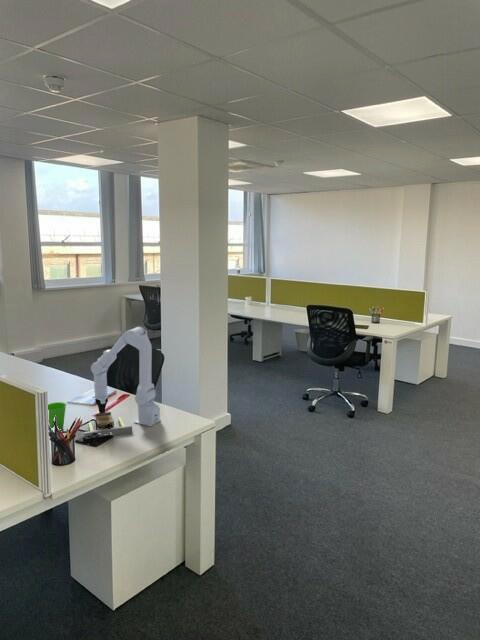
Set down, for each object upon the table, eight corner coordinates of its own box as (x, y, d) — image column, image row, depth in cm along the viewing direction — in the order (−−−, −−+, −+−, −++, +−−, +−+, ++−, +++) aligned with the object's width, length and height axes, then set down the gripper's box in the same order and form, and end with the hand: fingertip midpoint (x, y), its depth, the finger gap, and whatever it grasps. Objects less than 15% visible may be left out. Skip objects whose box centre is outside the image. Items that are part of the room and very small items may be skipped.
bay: (81, 428, 211) (81, 421, 211) (127, 421, 219) (126, 415, 219) (84, 440, 199) (84, 433, 199) (132, 432, 207) (132, 426, 206)
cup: (60, 434, 205) (59, 410, 203) (41, 432, 207) (40, 408, 205) (71, 426, 214) (70, 402, 212) (53, 424, 215) (52, 401, 213)
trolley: (95, 420, 219) (95, 413, 219) (111, 418, 222) (110, 411, 222) (97, 429, 210) (97, 421, 210) (114, 426, 213) (113, 419, 212)
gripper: (90, 382, 228) (91, 409, 230) (93, 391, 215) (94, 420, 217) (105, 380, 230) (106, 407, 233) (109, 389, 217) (110, 417, 220)
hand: (102, 413), depth 225 cm, fingers closed
